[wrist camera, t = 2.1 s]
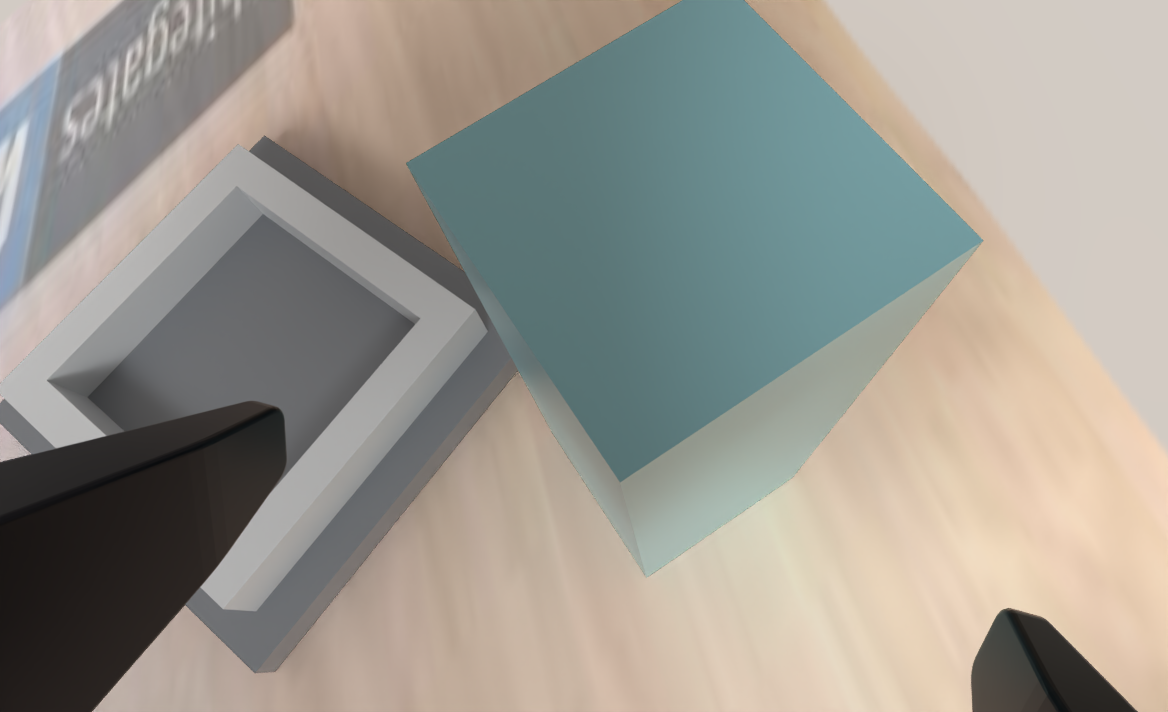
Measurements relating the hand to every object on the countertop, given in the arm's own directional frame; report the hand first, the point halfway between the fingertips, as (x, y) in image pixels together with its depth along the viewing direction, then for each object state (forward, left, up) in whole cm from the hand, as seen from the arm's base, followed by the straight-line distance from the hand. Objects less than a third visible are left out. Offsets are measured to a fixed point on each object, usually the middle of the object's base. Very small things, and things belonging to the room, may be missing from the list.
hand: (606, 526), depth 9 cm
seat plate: (-5, +10, -10) cm, 16 cm away
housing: (+3, +2, -10) cm, 11 cm away
